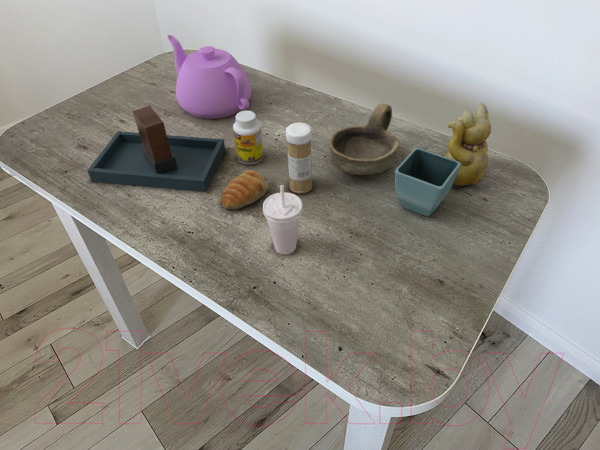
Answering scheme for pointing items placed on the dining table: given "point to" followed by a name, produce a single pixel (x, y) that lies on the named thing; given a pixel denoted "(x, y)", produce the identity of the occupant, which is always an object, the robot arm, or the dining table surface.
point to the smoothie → (283, 219)
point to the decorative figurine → (470, 145)
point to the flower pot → (424, 180)
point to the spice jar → (299, 157)
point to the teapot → (210, 82)
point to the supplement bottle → (248, 138)
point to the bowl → (365, 145)
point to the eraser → (154, 141)
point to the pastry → (244, 190)
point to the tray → (136, 170)
